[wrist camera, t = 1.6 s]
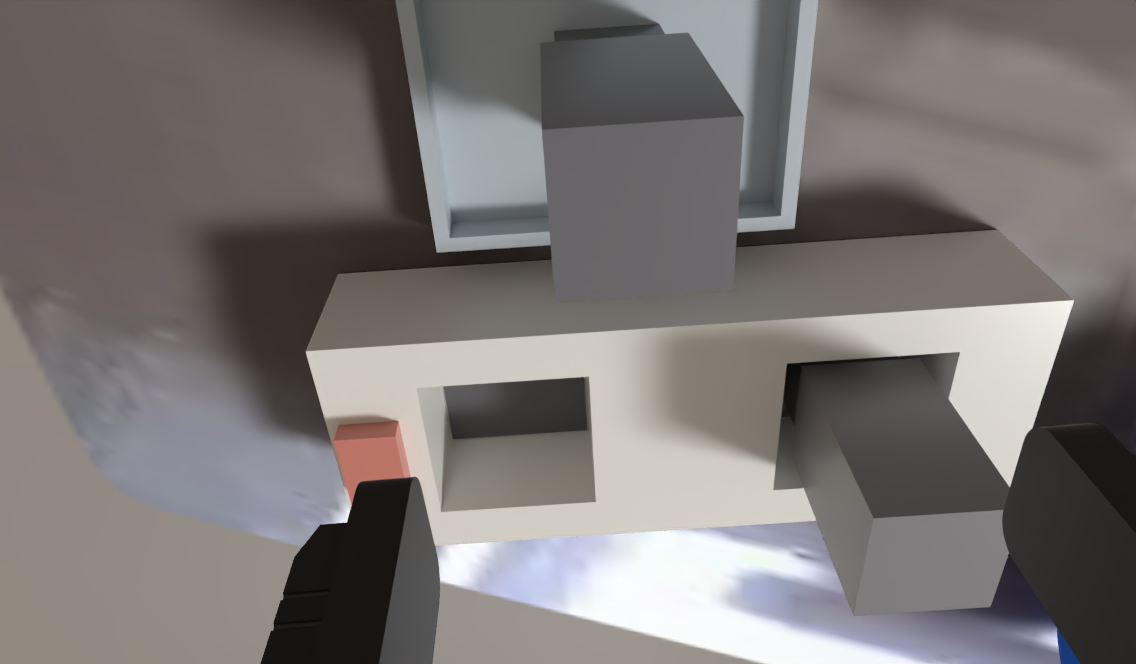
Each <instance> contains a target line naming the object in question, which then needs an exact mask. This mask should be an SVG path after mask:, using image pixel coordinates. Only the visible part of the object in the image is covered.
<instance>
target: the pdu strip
mask: <svg viewBox="0 0 1136 664" xmlns="http://www.w3.org/2000/svg"><path fill="white" fill-rule="evenodd" d="M1073 302H1074V300H1073V299H1072V298H1071V297H1070V296H1069V295H1068V294H1067V293H1066V292H1065V291H1064V290H1063V289H1062V288H1060V287H1059V286H1058V285H1057V284H1056V283H1055V282H1054V281H1053V280H1052V279H1051V278H1050V277H1049V276H1047V275H1046V274H1045V273H1044V272H1043V271H1042V270H1041V269H1040V268H1039V267H1038V266H1037V265H1036V264H1034V263H1033V262H1032V261H1031V260H1030V259H1029V258H1028V257H1027V256H1026V255H1025V254H1024V253H1022V252H1021V251H1020V250H1019V249H1018V248H1017V247H1016V246H1015V245H1014V244H1013V243H1012V242H1011V241H1009V240H1008V239H1007V238H1006V237H1005V236H1004V235H1003V234H1002V233H1001V232H1000V231H999V230H986V231H971V232H956V233H942V234H927V235H912V236H897V237H882V238H867V239H852V240H837V241H822V242H807V243H792V244H777V245H762V246H747V247H736V255H735V272H734V288H733V291H729V292H714V293H699V294H684V295H669V296H654V297H639V298H624V299H609V300H594V301H579V302H564V303H555V294H554V282H553V269H552V260H538V261H523V262H508V263H493V264H478V265H464V266H449V267H434V268H419V269H404V270H389V271H374V272H359V273H344V274H338V275H337V278H336V280H335V282H334V285H333V287H332V290H331V292H330V294H329V297H328V299H327V301H326V304H325V306H324V309H323V311H322V313H321V316H320V318H319V321H318V323H317V325H316V328H315V330H314V332H313V335H312V337H311V340H310V342H309V344H308V347H307V349H306V355H307V358H308V362H309V365H310V369H311V372H312V376H313V380H314V383H315V387H316V390H317V394H318V397H319V401H320V404H321V408H322V411H323V415H324V418H325V422H326V425H327V429H328V433H329V436H330V440H331V443H332V447H333V450H334V454H335V457H336V461H337V464H338V468H339V471H340V475H341V478H342V482H343V486H344V489H345V493H346V496H347V500H348V503H349V507H350V510H351V506H352V502H353V498H354V494H355V491H356V488H357V486H358V484H359V483H360V482H361V481H370V480H382V479H394V478H406V477H417V478H418V479H419V481H420V484H421V488H422V492H423V496H424V501H425V505H426V509H427V514H428V518H429V522H430V527H431V531H432V535H433V540H434V544H435V546H437V545H453V544H468V543H483V542H498V541H514V540H529V539H544V538H559V537H574V536H590V535H605V534H620V533H635V532H651V531H666V530H681V529H696V528H711V527H727V526H742V525H757V524H772V523H788V522H803V521H816V518H815V516H814V513H813V511H812V508H811V506H810V503H809V501H808V498H807V495H806V493H805V490H804V488H803V485H802V483H801V480H800V478H799V475H798V472H797V470H796V467H795V465H794V462H793V460H792V457H791V449H792V441H793V433H794V424H793V421H792V419H791V417H790V414H789V412H788V409H787V407H786V404H785V402H784V400H783V395H784V386H785V376H786V367H787V363H802V362H817V361H832V360H847V359H862V358H877V357H892V356H898V357H899V358H900V359H913V358H920V359H921V360H922V362H923V363H924V364H925V366H926V367H927V369H928V370H929V372H930V373H931V375H932V376H933V377H934V379H935V380H936V382H937V383H938V385H939V386H940V388H941V389H942V390H943V392H944V393H945V395H946V396H947V398H948V399H949V401H950V402H951V403H952V405H953V406H954V408H955V409H956V411H957V412H958V414H959V415H960V416H961V418H962V419H963V421H964V422H965V424H966V425H967V427H968V428H969V429H970V431H971V432H972V434H973V435H974V437H975V438H976V440H977V441H978V442H979V444H980V445H981V447H982V448H983V450H984V451H985V452H986V454H987V455H988V457H989V458H990V460H991V461H992V463H993V464H994V465H995V467H996V468H997V470H998V471H999V473H1000V474H1001V476H1002V477H1003V478H1004V480H1005V481H1006V483H1007V484H1008V486H1009V487H1010V486H1011V482H1012V479H1013V475H1014V472H1015V469H1016V465H1017V462H1018V458H1019V455H1020V452H1021V448H1022V445H1023V441H1024V439H1025V436H1026V435H1027V433H1028V432H1029V431H1030V430H1031V429H1032V428H1033V425H1034V422H1035V419H1036V415H1037V412H1038V409H1039V406H1040V403H1041V400H1042V397H1043V394H1044V391H1045V388H1046V385H1047V382H1048V379H1049V376H1050V373H1051V370H1052V367H1053V363H1054V360H1055V357H1056V354H1057V351H1058V348H1059V345H1060V342H1061V339H1062V336H1063V333H1064V330H1065V327H1066V324H1067V321H1068V318H1069V315H1070V311H1071V308H1072V305H1073Z"/></svg>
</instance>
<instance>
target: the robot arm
mask: <svg viewBox="0 0 1136 664" xmlns="http://www.w3.org/2000/svg"><path fill="white" fill-rule="evenodd" d="M1002 527H1003V534H1004V539H1005V543H1006V546H1007V548H1008V551H1009V553H1010V555H1011V557H1012V559H1013V561H1014V562H1015V564H1016V566H1017V567H1018V569H1019V570H1020V572H1021V573H1022V575H1023V576H1024V578H1025V579H1026V581H1027V582H1028V584H1029V586H1030V587H1031V589H1032V590H1033V592H1034V593H1035V595H1036V596H1037V598H1038V599H1039V601H1040V602H1041V604H1042V606H1043V607H1044V609H1045V610H1046V612H1047V613H1048V615H1049V616H1050V618H1051V619H1052V621H1053V622H1054V624H1055V626H1056V627H1057V629H1058V630H1059V632H1060V633H1061V635H1062V636H1063V638H1064V639H1065V641H1066V643H1067V644H1068V646H1069V647H1070V649H1071V650H1072V652H1073V653H1074V655H1075V656H1076V658H1077V659H1078V661H1079V663H1080V664H1136V459H1135V458H1134V457H1133V456H1132V455H1131V454H1130V453H1129V452H1128V451H1127V450H1126V448H1125V447H1124V446H1123V445H1122V444H1121V443H1120V442H1119V441H1118V440H1117V439H1116V438H1115V437H1114V436H1113V435H1112V434H1111V433H1110V432H1109V431H1108V430H1107V429H1106V428H1105V427H1103V426H1102V425H1100V424H1097V423H1083V424H1071V425H1059V426H1047V427H1037V428H1033V429H1031V430H1030V431H1029V432H1028V433H1027V435H1026V436H1025V439H1024V441H1023V445H1022V448H1021V452H1020V455H1019V458H1018V462H1017V465H1016V469H1015V472H1014V475H1013V479H1012V482H1011V486H1010V489H1009V492H1008V496H1007V499H1006V503H1005V506H1004V510H1003V516H1002ZM283 596H284V597H283V600H281V601H280V604H279V607H278V611H277V614H276V617H275V620H274V630H273V631H271V633H270V636H269V639H268V642H267V645H266V648H265V652H264V655H263V658H262V661H261V664H432V662H433V653H434V644H435V636H436V627H437V618H438V610H439V598H440V577H439V565H438V558H437V553H436V548H435V544H434V540H433V535H432V531H431V527H430V522H429V518H428V514H427V509H426V505H425V501H424V496H423V492H422V488H421V484H420V481H419V479H418V478H417V477H406V478H394V479H382V480H370V481H361V482H360V483H359V484H358V486H357V488H356V491H355V494H354V498H353V502H352V506H351V510H350V514H349V518H348V521H347V523H337V524H325V525H320V526H319V527H318V528H317V530H316V531H315V532H314V533H313V535H312V536H311V537H310V538H309V540H308V541H307V542H306V543H305V545H304V546H303V547H302V548H301V550H300V551H299V552H298V553H297V555H296V556H295V557H294V560H293V563H292V567H291V570H290V573H289V576H288V579H287V582H286V586H285V589H284V592H283Z"/></svg>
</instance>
